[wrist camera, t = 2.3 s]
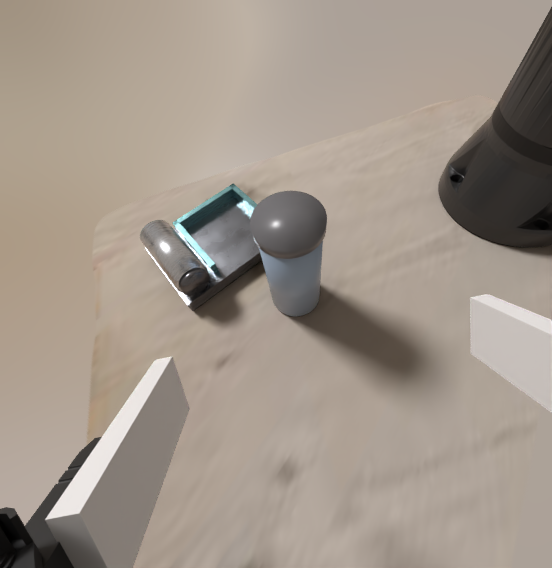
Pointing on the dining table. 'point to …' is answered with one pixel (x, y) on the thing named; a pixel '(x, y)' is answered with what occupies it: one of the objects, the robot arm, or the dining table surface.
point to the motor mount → (205, 246)
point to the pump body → (291, 248)
